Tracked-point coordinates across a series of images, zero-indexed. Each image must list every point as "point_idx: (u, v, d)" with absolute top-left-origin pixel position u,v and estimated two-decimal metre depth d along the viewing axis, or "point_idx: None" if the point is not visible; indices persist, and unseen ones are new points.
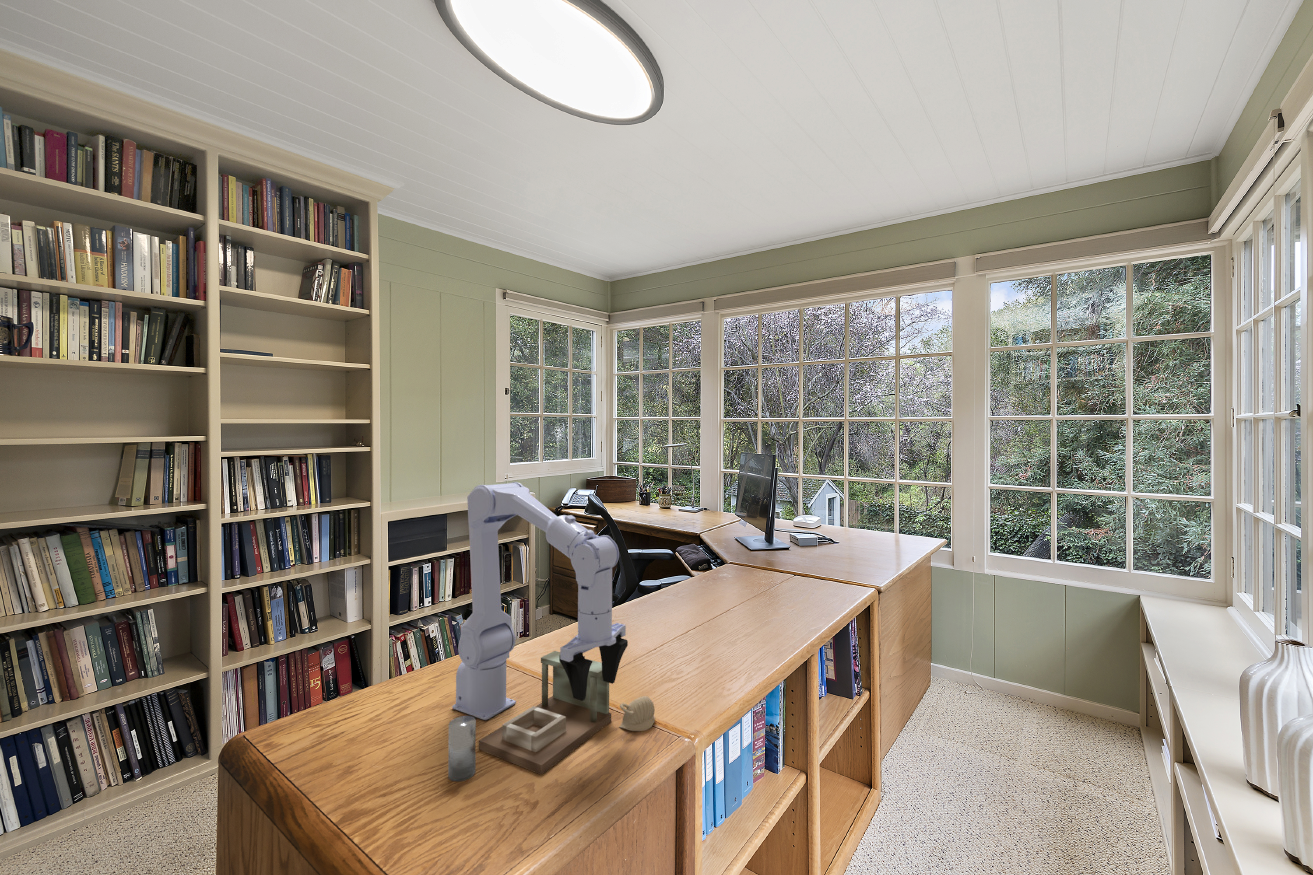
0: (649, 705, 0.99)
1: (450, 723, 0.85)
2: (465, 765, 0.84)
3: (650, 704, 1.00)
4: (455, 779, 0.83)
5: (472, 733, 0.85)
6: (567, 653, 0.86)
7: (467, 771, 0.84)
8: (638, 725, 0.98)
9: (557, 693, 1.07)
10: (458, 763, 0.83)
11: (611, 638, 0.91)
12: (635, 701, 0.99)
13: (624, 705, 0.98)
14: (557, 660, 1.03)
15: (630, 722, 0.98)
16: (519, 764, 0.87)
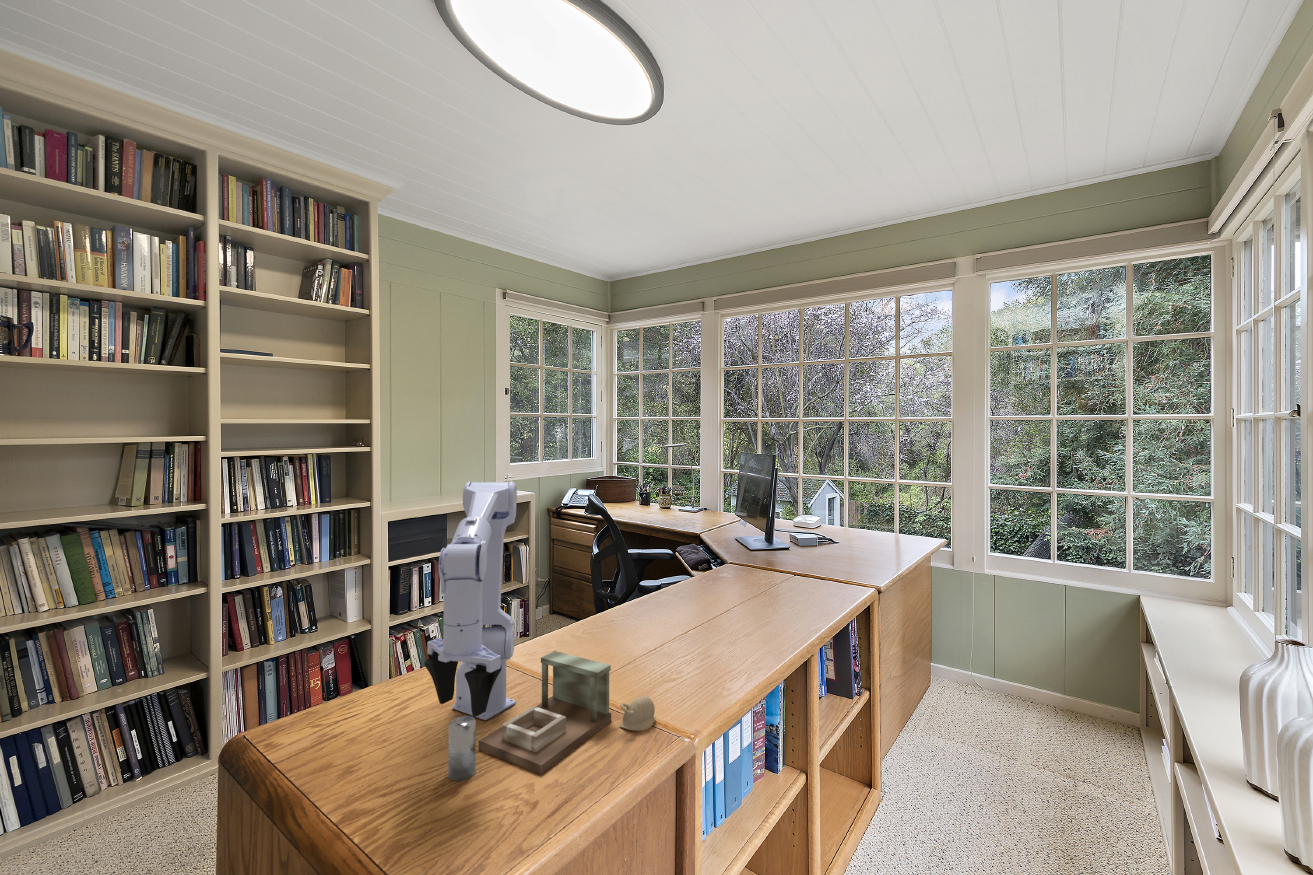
0: (649, 705, 0.99)
1: (450, 723, 0.85)
2: (465, 765, 0.84)
3: (650, 704, 1.00)
4: (455, 779, 0.83)
5: (472, 733, 0.85)
6: None
7: (467, 771, 0.84)
8: (638, 725, 0.98)
9: (557, 693, 1.07)
10: (458, 763, 0.83)
11: (448, 656, 0.82)
12: (635, 701, 0.99)
13: (624, 705, 0.98)
14: (557, 660, 1.03)
15: (630, 722, 0.98)
16: (519, 764, 0.87)
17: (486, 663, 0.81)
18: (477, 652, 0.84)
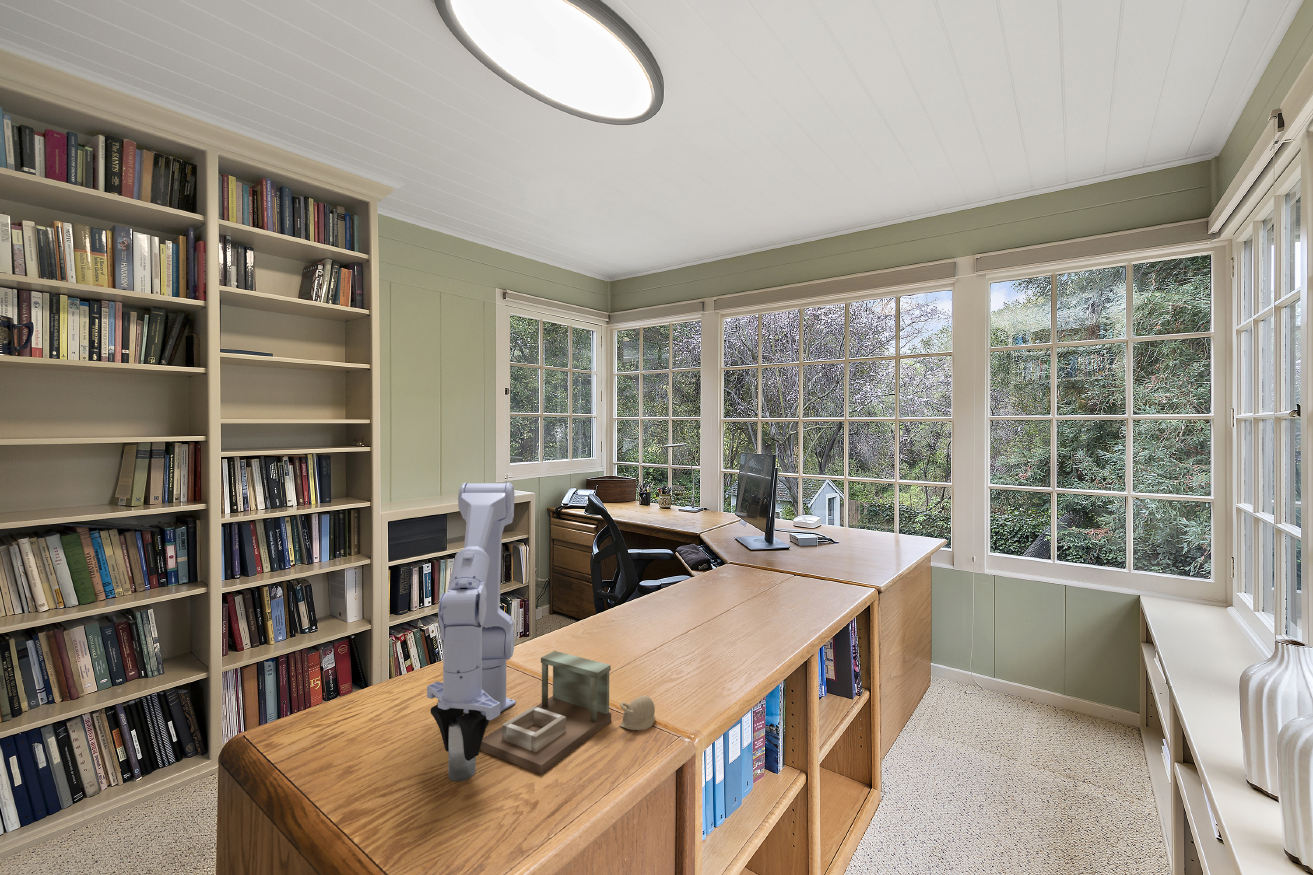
0: (649, 704, 1.00)
1: (450, 723, 0.85)
2: (465, 765, 0.84)
3: (650, 703, 1.00)
4: (455, 779, 0.83)
5: None
6: None
7: (467, 771, 0.84)
8: (638, 724, 0.98)
9: (557, 693, 1.07)
10: (458, 763, 0.83)
11: (447, 703, 0.82)
12: (635, 700, 0.99)
13: (624, 704, 0.98)
14: (557, 660, 1.03)
15: (630, 721, 0.98)
16: (519, 764, 0.87)
17: (486, 711, 0.81)
18: (477, 698, 0.84)
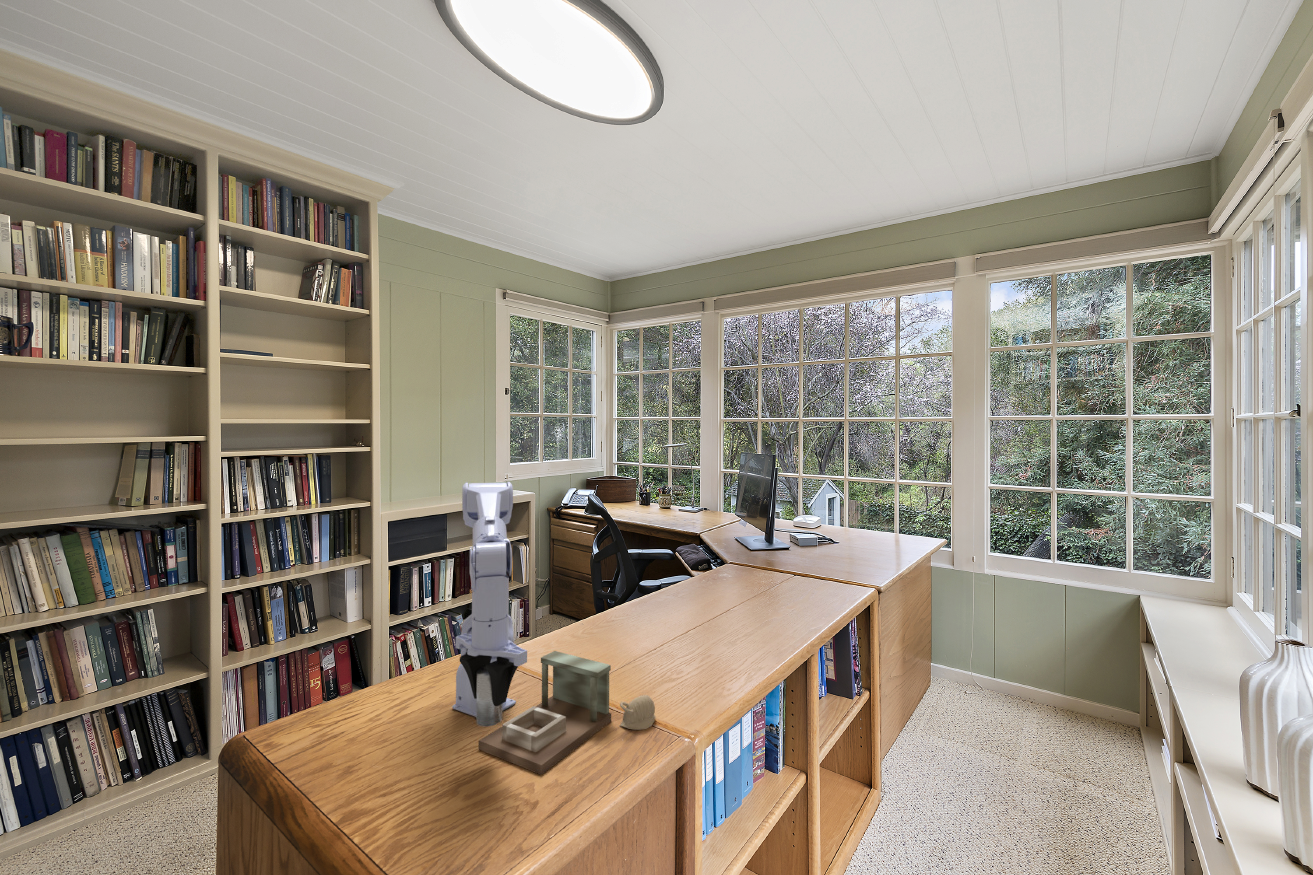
0: (649, 704, 1.00)
1: (478, 671, 0.88)
2: (492, 711, 0.87)
3: (650, 703, 1.00)
4: (483, 724, 0.86)
5: None
6: None
7: (494, 717, 0.87)
8: (638, 724, 0.99)
9: (557, 693, 1.07)
10: (486, 709, 0.86)
11: (476, 650, 0.85)
12: (635, 700, 0.99)
13: (624, 704, 0.98)
14: (557, 660, 1.03)
15: (630, 721, 0.98)
16: (519, 764, 0.87)
17: (513, 657, 0.84)
18: (504, 647, 0.87)
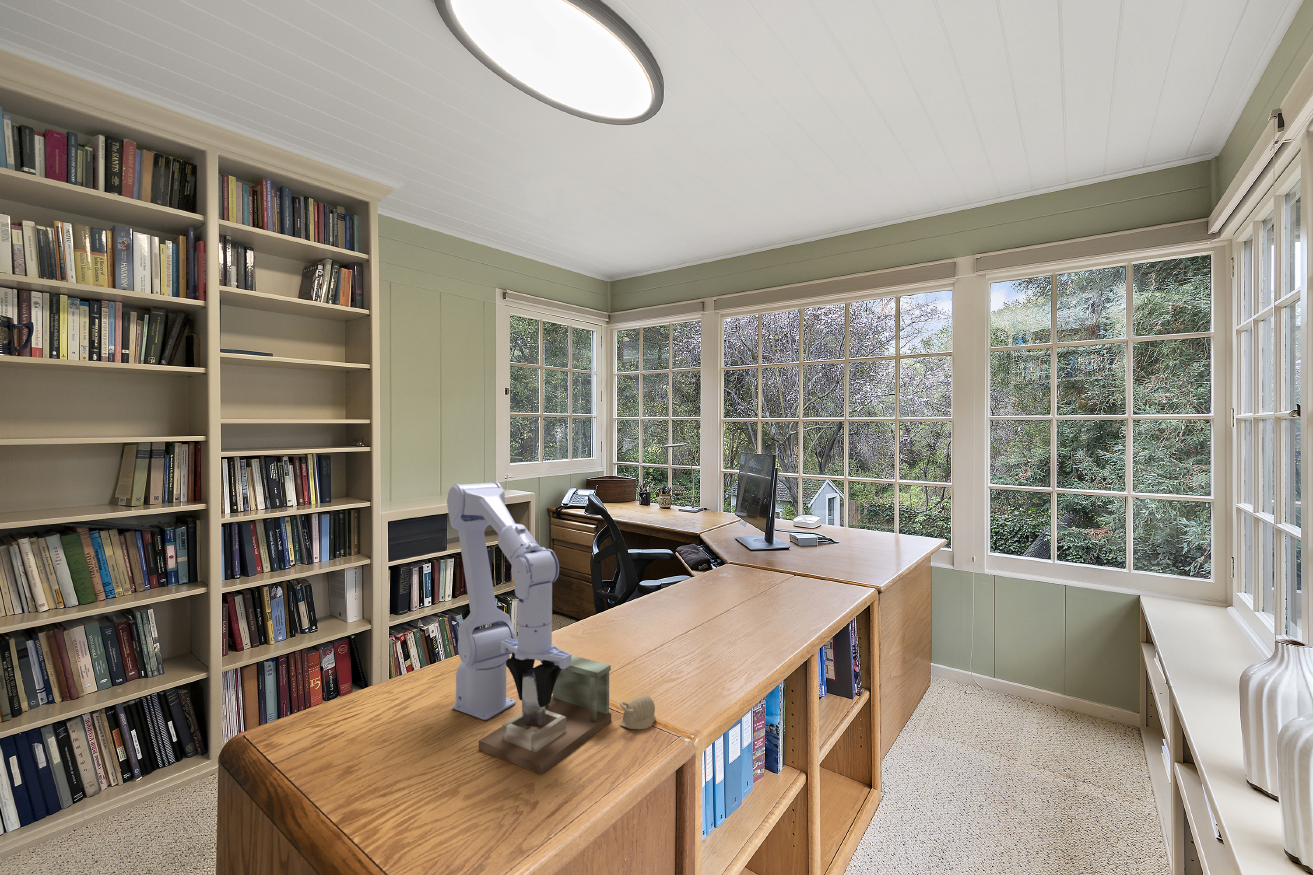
0: (649, 704, 1.00)
1: (523, 674, 0.93)
2: (537, 712, 0.92)
3: (650, 703, 1.00)
4: (528, 724, 0.91)
5: None
6: None
7: (539, 717, 0.92)
8: (638, 723, 0.99)
9: (557, 693, 1.07)
10: (531, 710, 0.91)
11: (524, 654, 0.91)
12: (635, 699, 0.99)
13: (624, 703, 0.98)
14: None
15: (630, 720, 0.98)
16: (519, 764, 0.87)
17: (559, 660, 0.90)
18: (549, 651, 0.92)
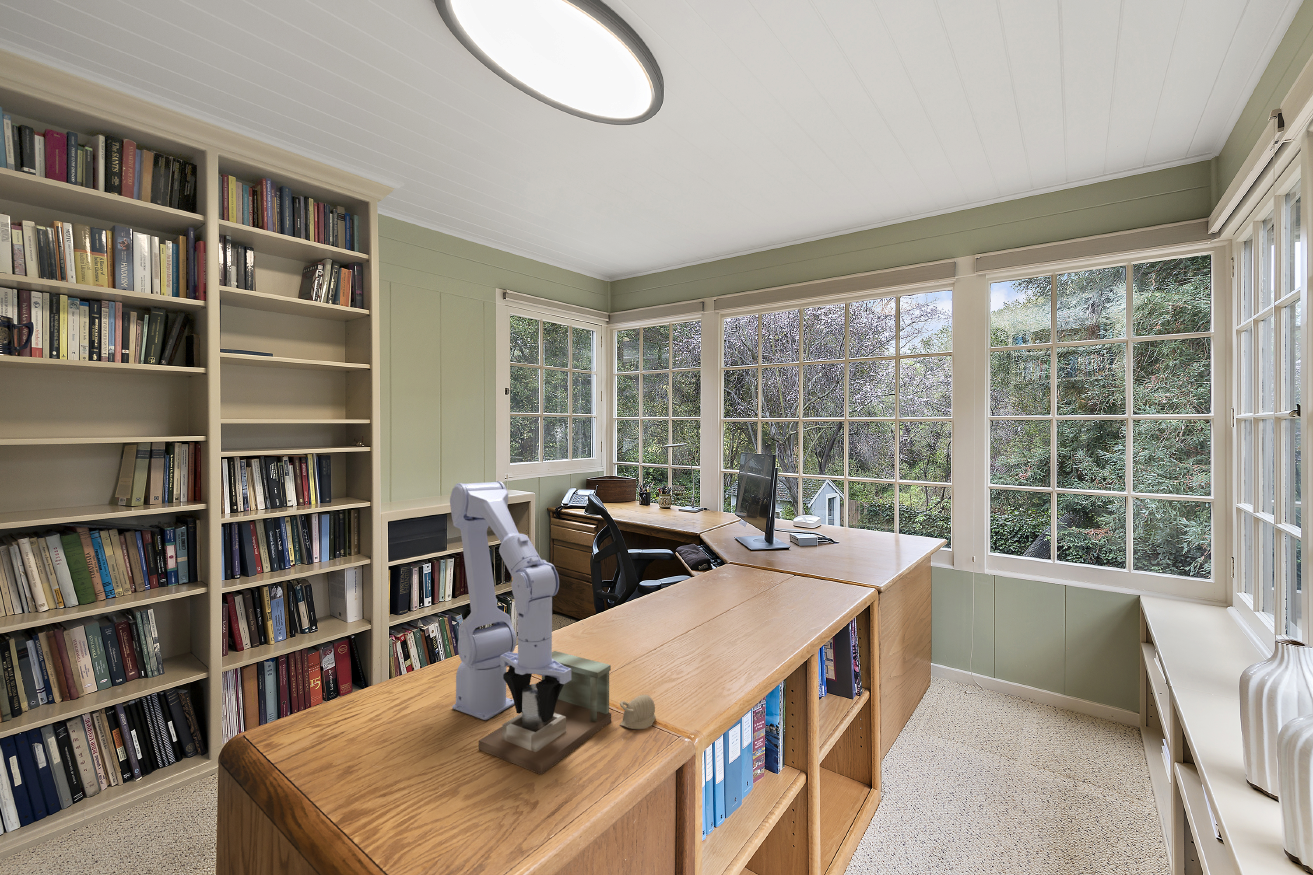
0: (649, 703, 1.00)
1: (523, 689, 0.93)
2: (537, 728, 0.92)
3: (650, 703, 1.00)
4: None
5: None
6: None
7: None
8: (638, 723, 0.99)
9: None
10: (531, 726, 0.91)
11: (523, 669, 0.91)
12: (635, 699, 0.99)
13: (624, 703, 0.99)
14: (557, 660, 1.03)
15: (630, 720, 0.98)
16: (519, 764, 0.87)
17: (559, 675, 0.90)
18: (549, 665, 0.92)
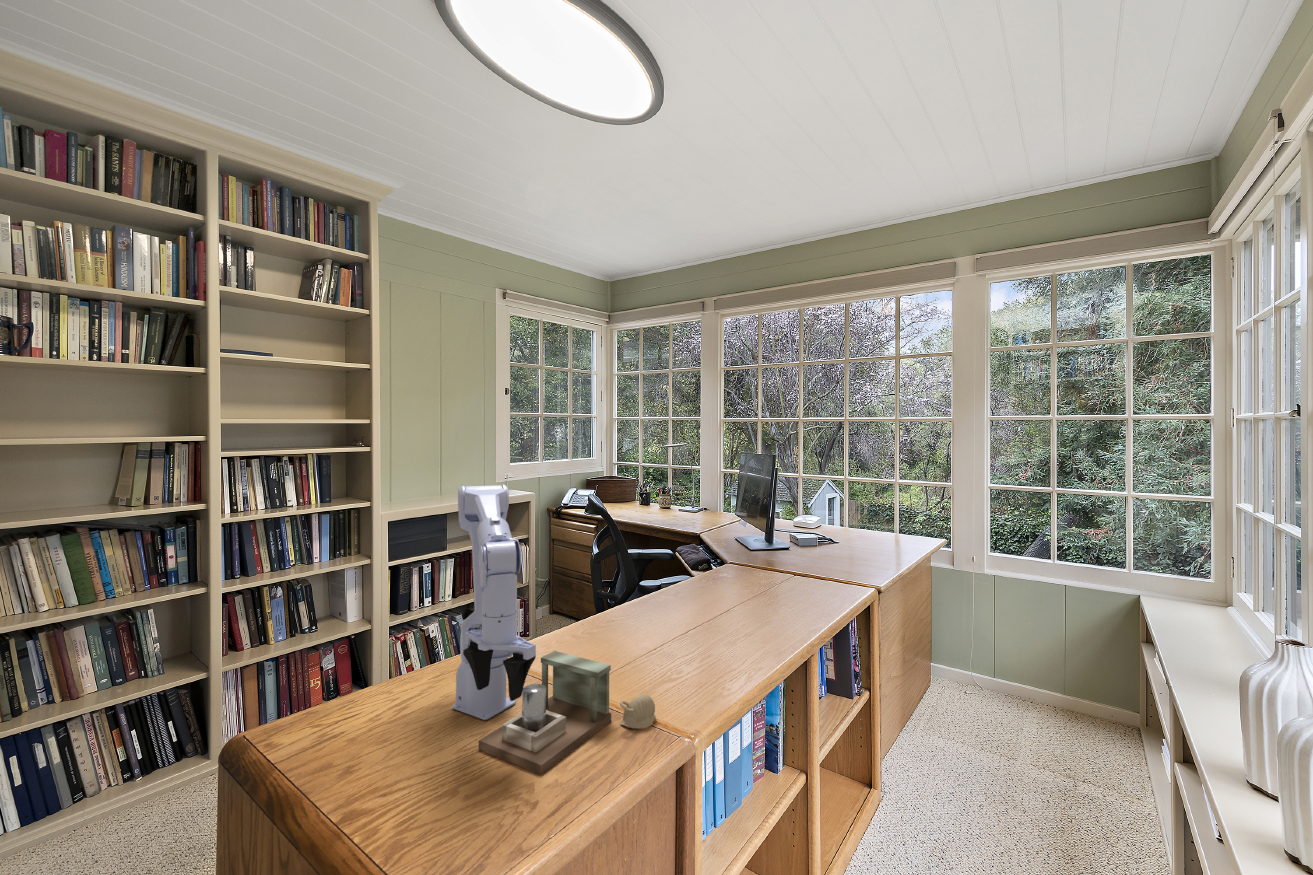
0: (649, 703, 1.00)
1: (523, 689, 0.93)
2: (537, 728, 0.92)
3: (650, 702, 1.00)
4: None
5: (543, 698, 0.93)
6: None
7: None
8: (638, 723, 0.99)
9: (557, 693, 1.07)
10: (531, 726, 0.91)
11: (487, 645, 0.89)
12: (635, 699, 1.00)
13: (624, 702, 0.99)
14: (557, 660, 1.03)
15: (630, 719, 0.98)
16: (519, 764, 0.87)
17: (523, 651, 0.88)
18: (513, 641, 0.91)
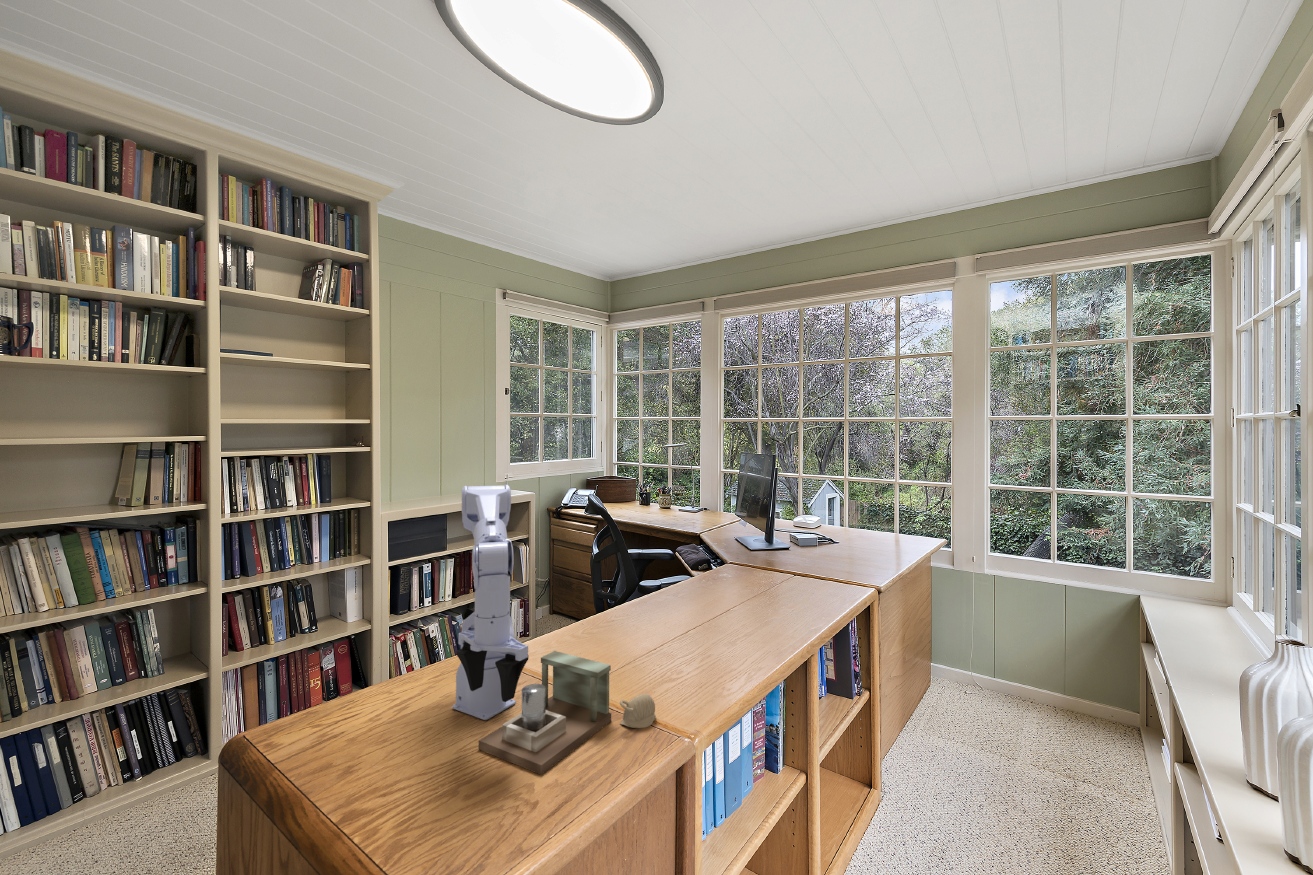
0: (649, 703, 1.00)
1: (523, 689, 0.93)
2: (537, 728, 0.92)
3: (650, 702, 1.01)
4: None
5: (543, 698, 0.93)
6: None
7: None
8: (638, 722, 0.99)
9: (557, 693, 1.07)
10: (531, 726, 0.91)
11: (479, 645, 0.89)
12: (635, 698, 1.00)
13: (624, 702, 0.99)
14: (557, 660, 1.03)
15: (630, 719, 0.99)
16: (519, 764, 0.87)
17: (515, 652, 0.88)
18: (506, 642, 0.90)
